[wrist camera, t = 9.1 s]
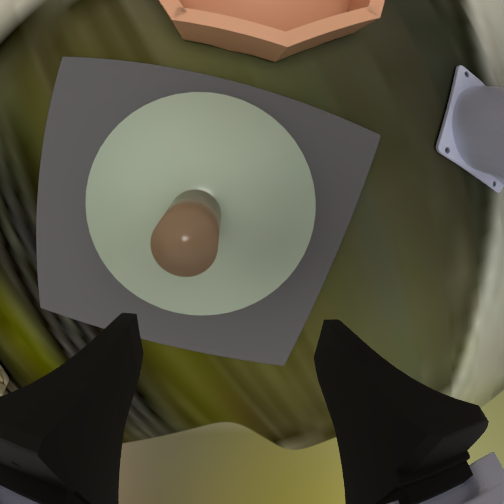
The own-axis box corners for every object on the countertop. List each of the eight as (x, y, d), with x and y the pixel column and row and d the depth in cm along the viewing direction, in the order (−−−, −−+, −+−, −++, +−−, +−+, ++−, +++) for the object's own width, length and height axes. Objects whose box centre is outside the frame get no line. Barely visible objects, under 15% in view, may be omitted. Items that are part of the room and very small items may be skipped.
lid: (332, 113, 17) (370, 111, 12) (289, 318, 23) (303, 370, 18) (95, 91, 15) (49, 84, 10) (96, 297, 21) (67, 343, 16)
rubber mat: (377, 134, 18) (380, 135, 18) (282, 361, 26) (283, 365, 25) (66, 58, 14) (62, 56, 14) (43, 303, 22) (40, 307, 21)
